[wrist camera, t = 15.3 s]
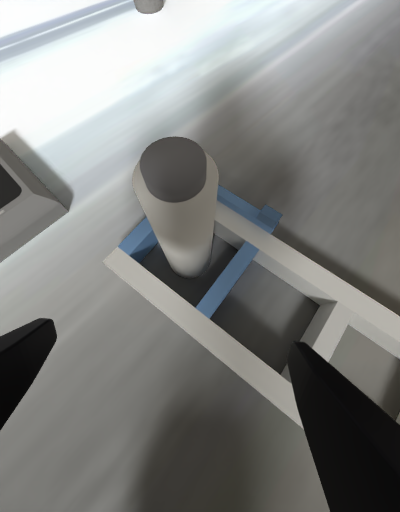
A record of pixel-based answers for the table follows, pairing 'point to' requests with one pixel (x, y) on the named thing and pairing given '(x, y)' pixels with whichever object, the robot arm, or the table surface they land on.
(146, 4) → the house plant
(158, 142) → the white capped cylinder
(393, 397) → the table surface
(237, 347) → the white and blue ladder
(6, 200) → the gray box with screen
